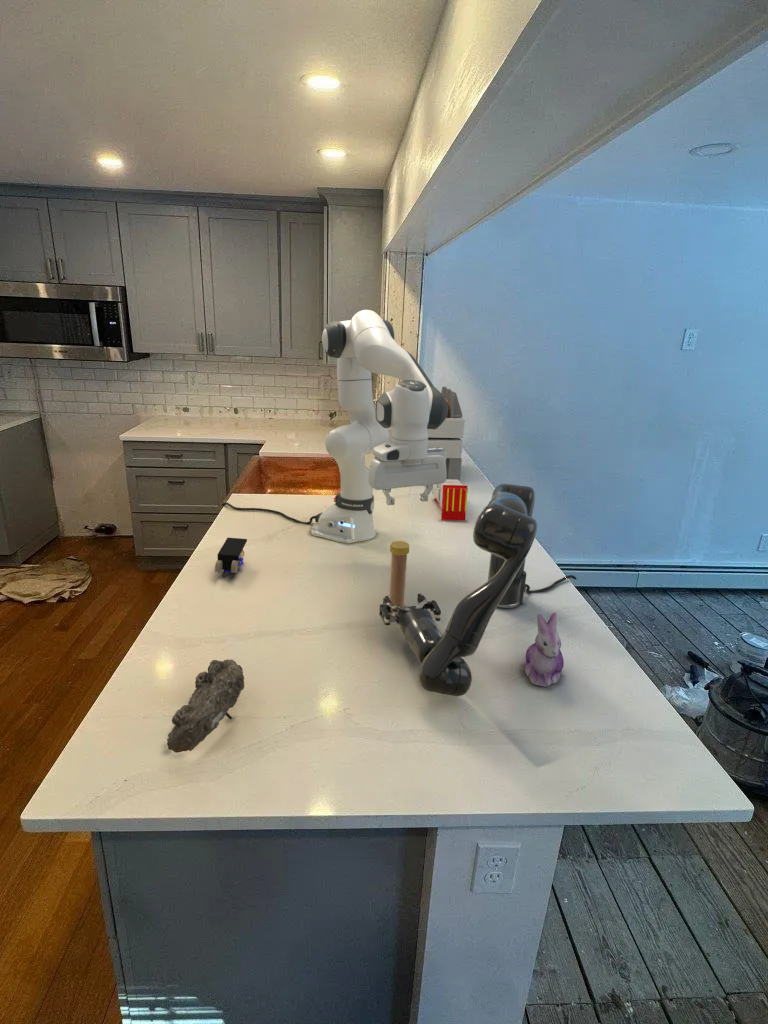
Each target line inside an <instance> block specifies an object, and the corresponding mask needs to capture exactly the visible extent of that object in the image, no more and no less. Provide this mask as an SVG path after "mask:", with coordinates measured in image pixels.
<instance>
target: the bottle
mask: <svg viewBox="0 0 768 1024" xmlns="http://www.w3.org/2000/svg"><path fill="white" fill-rule="evenodd" d="M407 563H408V554H407V555H402V556H399V555H394V554H392V553H391V552H390V573H389V594H388V597H389V599H390V601H391V603H392V604H394V605H396V604H398V605H401V606H403V607H405V597H406V581H407ZM391 611H393V609H392V608H391ZM399 611H400V610H398V612H399Z"/></svg>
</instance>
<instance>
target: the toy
mask: <svg viewBox="0 0 768 1024" xmlns="http://www.w3.org/2000/svg"><path fill="white" fill-rule="evenodd" d="M468 489H469V488H468V485H465V484H464V483H462V482H461V480H460V481H459V480H451V479H446V480H445V482H444V483H441V484H433V489H432V491H431V495H432V496H434V500H435V502H436V503H437V504H438V505H439V507H440V508H441V513H440V514H441V515H440V520H441V521H457V522H458V521H461V522H465V521H466V517H467V506H468V505H467V504H468V493H469V491H468Z"/></svg>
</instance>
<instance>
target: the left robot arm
mask: <svg viewBox="0 0 768 1024" xmlns="http://www.w3.org/2000/svg"><path fill="white" fill-rule="evenodd" d="M395 338H396V337H395V332H394V326H393V325H392V324H391V322H390V321H389V320H386V319H382V318H381V316H380V315H379V314H378V313H377V312H375V311H374V310H371V309H363V310H359V311H358V312H356V313H355V314H354V315H353V316H352V318H351V319H348V320H341V321H338V320H335V321H334V320H333V321H331V322H328V323H327V324H325V326H324V327H323V331H322V335H321V344H322V347H323V350H324V352H325V354H326V355H327V356H328V357H330V358H334V359H337V360H336V361H337V362H336V383H337V385H336V386H337V397H338V404H339V406H340V408H341V409H343V410H344V411H345V412H346V413H347V415H348V418H349V422H350V423H349V424H344V425H339V426H338V427H335V428H334V429H332V430H330V431H329V432H328V433H327V434H326V436H325V441H324V443H325V449H326V452H327V453H328V455H329V456H330V457H331V458H333V459H334V461H335V462H336V465H337V466H338V467H337V468H338V470H339V476H340V477H339V478H340V480H339V481H340V484H339V485H340V488H339V489H340V490H339V491H338V492H337V494H336V495H335V496H334V497H333V502H334V504H333V505H331V506H329V507H328V508H326V509H325V510H323V512H319V513H318V514H316V515H313V516H310V518H309V521H301V520H298V519H297V518H294V517H290V516H288V515H286V514H285V513H283V512H281V511H279V510H273V509H269V508H261V507H238V506H237V507H236V506H234V505H233V504H231V503H229V502H227V501H226V502H223V503H222V504H221V506H222V507H225V506H227V507H229V508H230V509H233V510H236V511H259V512H269V513H273V514H277V515H279V516H282V517H284V518H285V519H287V520H289V521H292V522H295V523H297V524H302V525H311V524H312V523H313V520H314V521H315V524H314V525H313V526H312V528H311V530H310V533H311V536H315V537H319V538H323V539H326V540H330V541H336V542H339V543H343V544H352V543H357V542H365V541H368V540H372V539H373V538H375V537H376V535H377V532H376V528H375V523H374V509H375V496H374V490H375V491H381V490H382V493H383V495H384V496H385V498H386V499H385V502H386V503H385V504H386V505H387V506H394V505H395V501H396V500H395V498H394V497H393V496H391V495H390V493H392V489H402V488H412V487H420V486H421V487H422V486H424V487H425V488H424V490H423V492H422V493H419V500H420V502H422V503H423V502H428V501H429V495H430V494H431V493H432V489H433V484H435V485H437V484H441V483H444V482H445V480H446V477H447V473H446V455H447V453H446V451H445V450H444V449H443V448H442V447H436V448H432V447H430V448H428V433H427V429H434V430H435V429H437V428H438V427H439V426H440V425H441V424H442V423H443V422H444V421H445V419H446V417H447V414H448V406H447V402H446V399H445V398H444V396H443V395H442V394H441V391H440V390H439V389H438V388H437V387H435V385H434V384H433V382H432V381H431V380H430V378H429V377H428V375H427V374H426V372H425V371H424V369H423V368H422V366H421V365H420V364H419V362H418V360H416V358H415V356H413V354H412V353H410V352H409V351H407V350H405V349H404V348H403V347H402V346H400V345H399V343H397V342H396V339H395ZM372 374H376V375H381V376H387V377H393V378H396V379H398V380H400V381H398V382H397V383H395V386H394V388H393V389H391V390H389V391H385V392H383V393H381V394H380V395H379V396H378V398H377V399H376V401H375V403H374V395H373V381H372ZM388 429H393V434H392V440H390V441H388V440H389V432H388ZM442 450H443V451H442ZM371 454H372V455H373V456H374V457H373V458H372V459H371V460H370V464H369V468H368V467H367V464H366V461H365V457H366V456H367V455H371Z"/></svg>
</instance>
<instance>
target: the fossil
mask: <svg viewBox="0 0 768 1024" xmlns="http://www.w3.org/2000/svg"><path fill="white" fill-rule="evenodd" d="M243 670H244V669H243V667H242V665H240V664H237V662H236V661H235V660H234V659H232V658H231V659H227V658H226V659H224V660H223V661H222V660H217V659H212V660H211V661H210V663H209V665H208V666H207V671H201V672H199V673H198V674H197V675H196V676H195V680H194V684H195V685H194V687H195V689H194V690H193V693H192V694H191V697H190V698H189V700H188V704H184V705H182V706H181V707H180V709H177V710H176V711H175V713H174V715H173V716H172V718H171V723H172V724H173V727H172V730H171V731H170V732H168V734H167V738H166V741H167V742H166V745H167V749H168V750H169V751H173V752H174V753H176V754H178V753H182V752H188V751H189V752H192V751H193V750H195V748H196V747H197V746H199V744H200V743H201V742H203V741H204V740H205V739H206V738H207V737H208V736H209V735H210V734H211V733H212V732H214V730H215V729H217V727H218V726H219V724H220V722H221V721H222V720H223V719H224V718H225V716H226V717H227V719H229V720H233V717H232V715H230V714H229V710H230V709H231V708H234V706H235V704H236V703H237V702H238V699H239V697H240V695H241V693H242V691H243V690H245V689H244V688H245V675H244V671H243Z"/></svg>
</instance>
